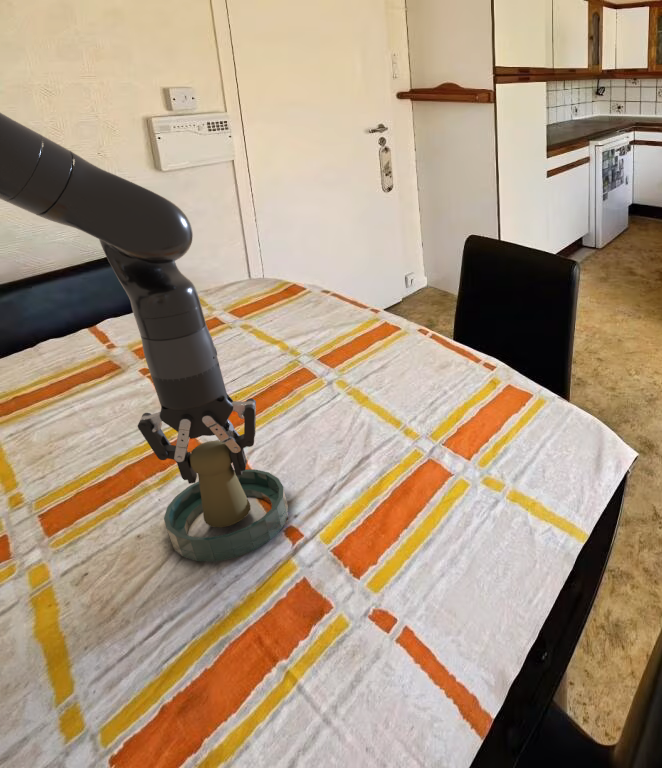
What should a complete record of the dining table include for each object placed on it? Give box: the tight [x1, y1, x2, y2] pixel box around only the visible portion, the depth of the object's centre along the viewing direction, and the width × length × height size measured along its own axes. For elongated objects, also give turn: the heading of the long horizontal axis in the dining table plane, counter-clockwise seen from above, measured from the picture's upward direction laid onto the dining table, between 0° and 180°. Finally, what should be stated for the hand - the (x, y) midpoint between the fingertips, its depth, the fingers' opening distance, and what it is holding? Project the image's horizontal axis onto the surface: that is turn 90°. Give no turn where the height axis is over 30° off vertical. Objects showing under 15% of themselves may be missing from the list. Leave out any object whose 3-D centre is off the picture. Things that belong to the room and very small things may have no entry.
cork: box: [190, 440, 251, 528], centre depth 84 cm, size 6×6×11 cm
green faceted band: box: [163, 468, 289, 562], centre depth 87 cm, size 15×15×5 cm
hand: (216, 475), depth 84 cm, fingers closed on cork, 5 cm apart
